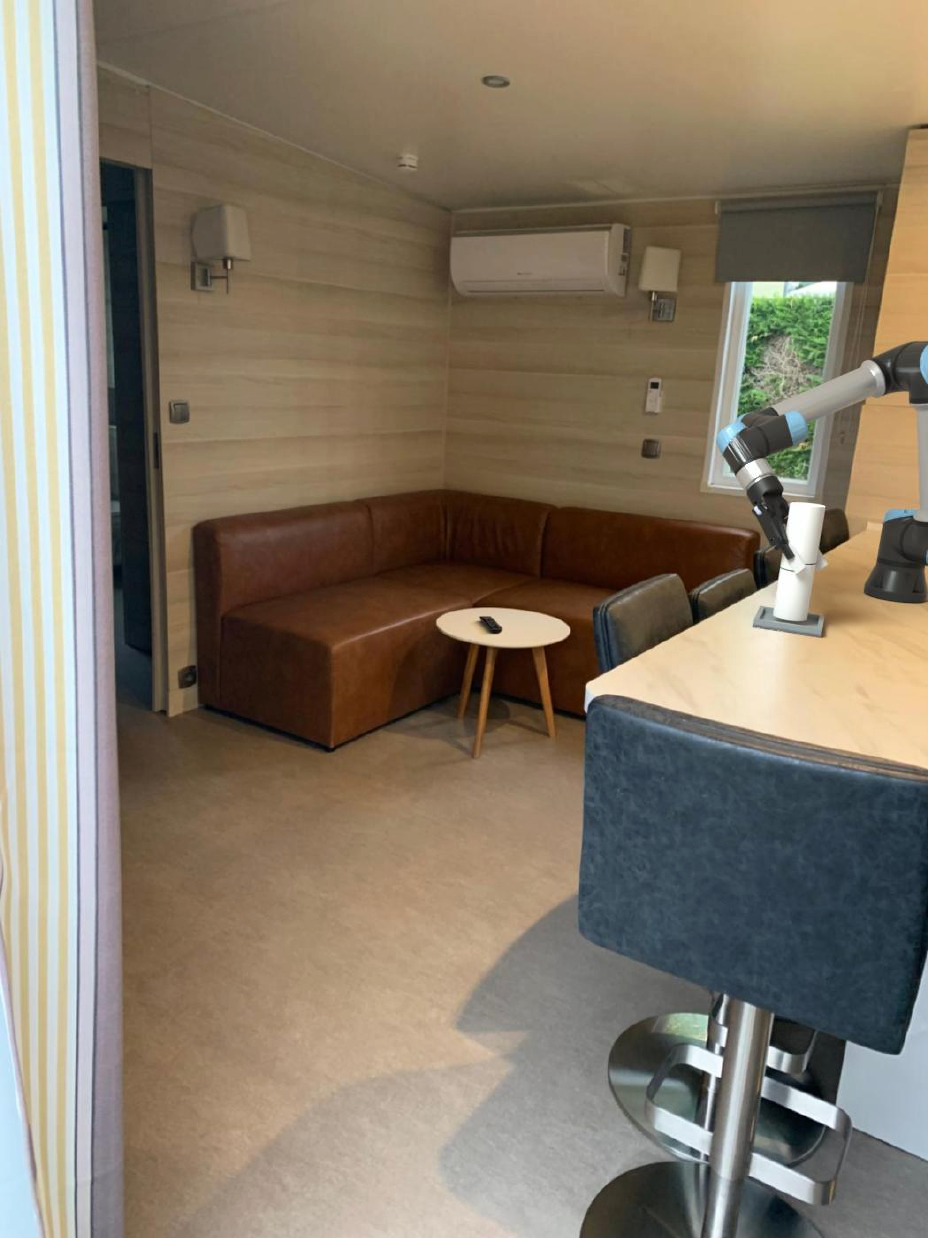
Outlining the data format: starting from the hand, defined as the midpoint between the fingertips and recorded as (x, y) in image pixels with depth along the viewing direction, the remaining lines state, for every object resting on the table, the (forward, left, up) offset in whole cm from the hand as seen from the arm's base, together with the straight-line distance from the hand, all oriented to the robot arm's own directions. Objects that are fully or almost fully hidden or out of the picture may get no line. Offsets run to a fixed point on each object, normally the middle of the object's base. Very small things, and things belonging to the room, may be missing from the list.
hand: (812, 569), depth 192 cm
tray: (+3, -2, -13) cm, 14 cm away
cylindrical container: (+3, -2, -12) cm, 12 cm away
